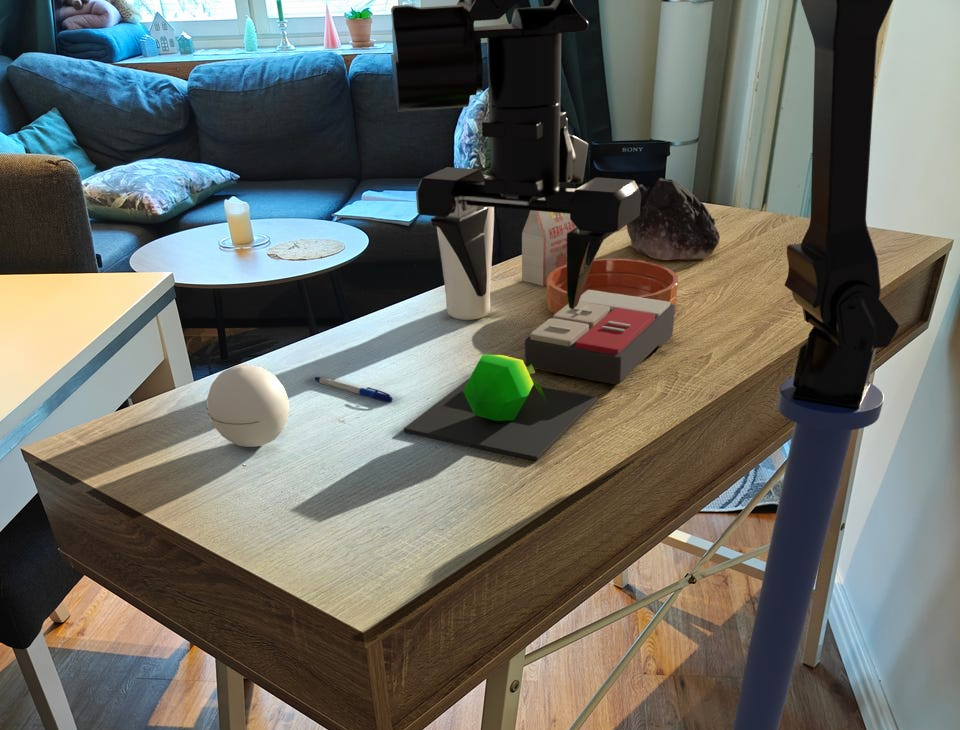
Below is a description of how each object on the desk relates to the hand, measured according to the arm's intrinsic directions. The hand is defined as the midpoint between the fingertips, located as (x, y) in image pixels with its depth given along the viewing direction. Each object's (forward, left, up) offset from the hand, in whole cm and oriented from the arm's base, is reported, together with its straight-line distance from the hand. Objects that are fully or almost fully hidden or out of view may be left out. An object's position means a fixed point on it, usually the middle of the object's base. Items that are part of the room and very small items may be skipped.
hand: (526, 301), depth 81 cm
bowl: (+4, -31, -11) cm, 33 cm away
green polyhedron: (+1, +2, -10) cm, 11 cm away
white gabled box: (+16, -39, -11) cm, 43 cm away
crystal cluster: (+5, -57, -11) cm, 58 cm away
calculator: (-1, -16, -10) cm, 19 cm away
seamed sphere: (+21, +18, -11) cm, 29 cm away
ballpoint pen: (+19, +3, -11) cm, 22 cm away
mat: (+2, +2, -11) cm, 11 cm away
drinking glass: (+19, -22, -11) cm, 31 cm away
